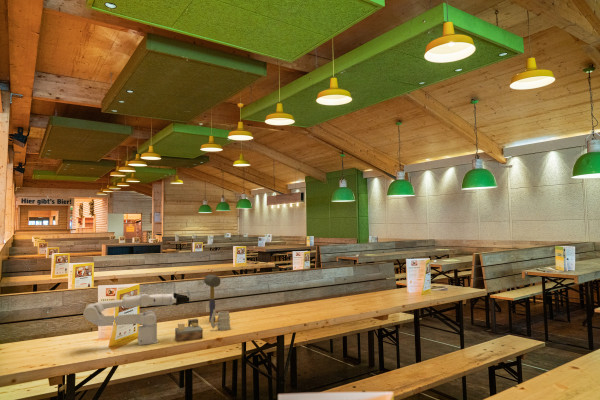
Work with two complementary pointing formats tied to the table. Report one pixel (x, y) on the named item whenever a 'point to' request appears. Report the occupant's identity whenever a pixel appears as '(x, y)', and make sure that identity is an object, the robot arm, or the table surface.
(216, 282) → the rubber mallet
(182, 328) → the lid
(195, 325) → the latch bar
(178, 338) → the toolbox
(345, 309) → the table surface
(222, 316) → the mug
